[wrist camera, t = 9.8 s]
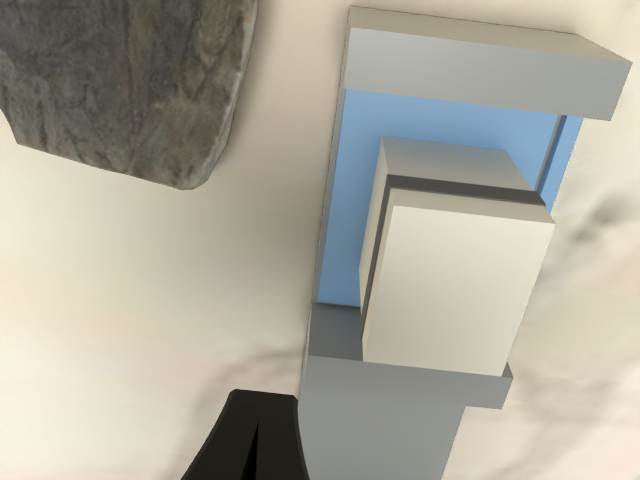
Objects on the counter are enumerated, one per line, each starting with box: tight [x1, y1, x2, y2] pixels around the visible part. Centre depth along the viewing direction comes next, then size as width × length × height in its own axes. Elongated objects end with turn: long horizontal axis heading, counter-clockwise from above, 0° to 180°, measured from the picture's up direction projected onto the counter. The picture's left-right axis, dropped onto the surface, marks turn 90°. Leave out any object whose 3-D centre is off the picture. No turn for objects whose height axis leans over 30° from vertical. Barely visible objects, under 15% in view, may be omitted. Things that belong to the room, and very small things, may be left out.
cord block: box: [359, 136, 556, 376], centre depth 17 cm, size 5×4×5 cm
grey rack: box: [298, 6, 633, 480], centre depth 21 cm, size 22×8×4 cm, turn 174°
